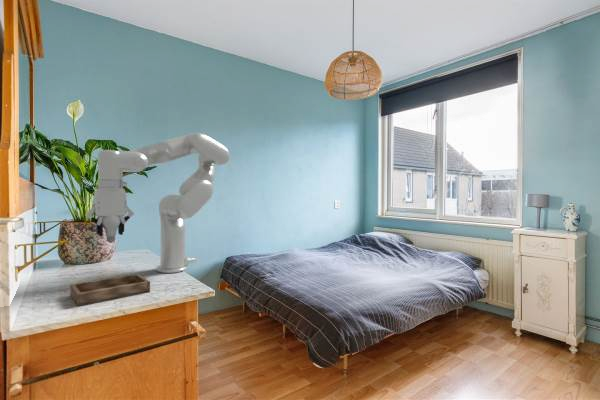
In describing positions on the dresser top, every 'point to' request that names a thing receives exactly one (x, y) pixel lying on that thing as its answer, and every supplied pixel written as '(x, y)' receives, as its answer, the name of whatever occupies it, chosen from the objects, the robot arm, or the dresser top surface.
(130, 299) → the dresser top surface
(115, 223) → the lightbulb
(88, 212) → the robot arm
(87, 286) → the walnut tray
